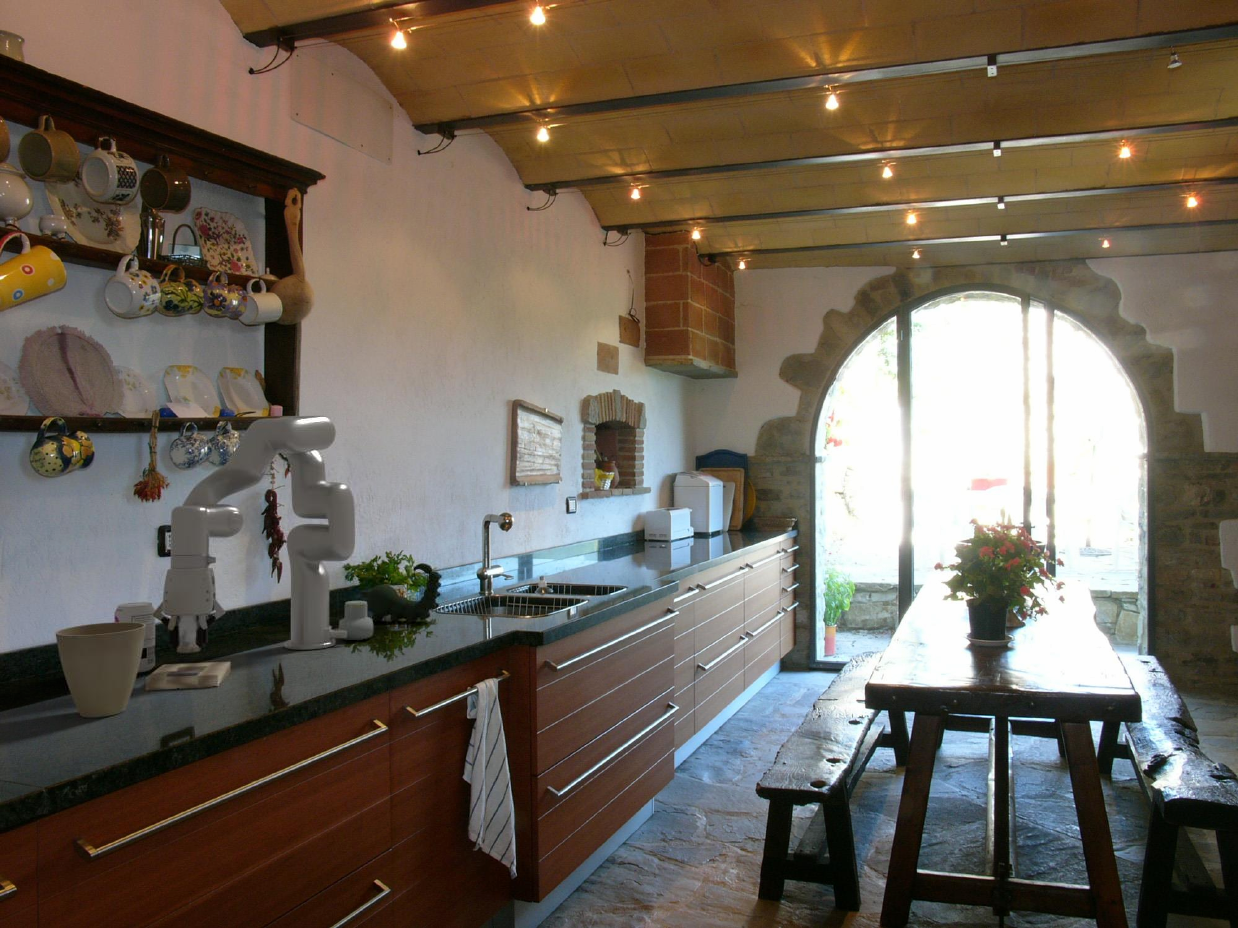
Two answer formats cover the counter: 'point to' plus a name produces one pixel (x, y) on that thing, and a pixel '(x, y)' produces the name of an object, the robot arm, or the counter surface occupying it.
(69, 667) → the plant pot
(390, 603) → the toy figurine
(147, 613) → the supplement can
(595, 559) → the counter surface
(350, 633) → the air freshener
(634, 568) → the counter surface
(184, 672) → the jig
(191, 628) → the bushing
